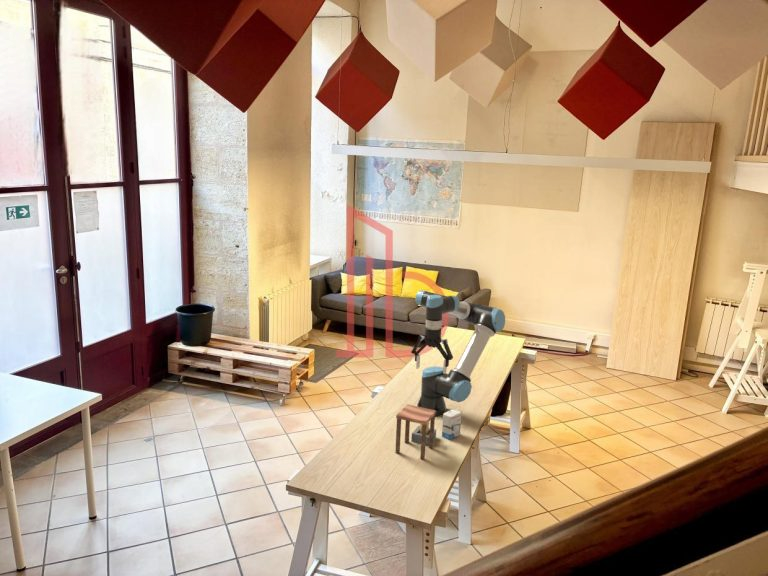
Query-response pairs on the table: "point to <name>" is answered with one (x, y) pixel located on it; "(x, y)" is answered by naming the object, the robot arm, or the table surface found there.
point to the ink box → (451, 424)
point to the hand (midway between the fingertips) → (431, 370)
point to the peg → (426, 428)
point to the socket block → (417, 436)
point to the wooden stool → (416, 416)
